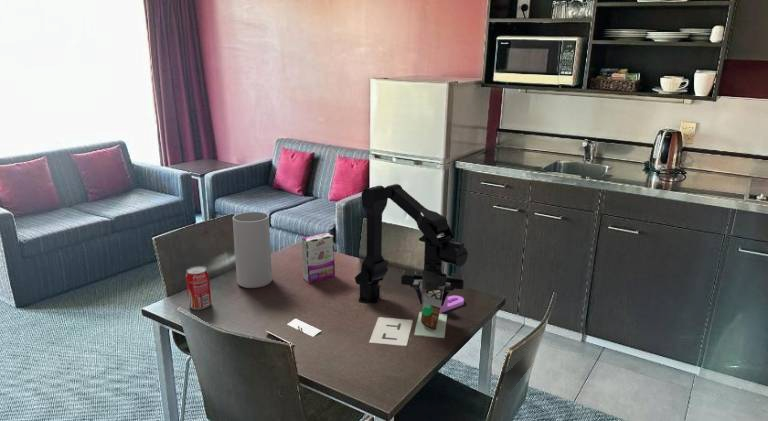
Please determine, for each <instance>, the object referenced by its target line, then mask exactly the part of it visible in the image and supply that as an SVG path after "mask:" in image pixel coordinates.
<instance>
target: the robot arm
mask: <svg viewBox="0 0 768 421" xmlns="http://www.w3.org/2000/svg"><path fill="white" fill-rule="evenodd" d="M360 197H361V204H362V207H363V210H364V211H365V213H366V255H365V257H364V259H363V261H362V262H361V268H360V272H359V273H358V274H357V275H356V276H355V277H354V280H355V284H357V285H359V298H358V302H362V303H371V304H372V303H375V304H376V303H378V301H379V300H380V299H381V296H382V291H381V290H382V285H380V281H384V278H385V276H386V275H387V272H388V271H389V270H388V263H389V261H388V260H387V259H385V257H384V256H383V255H382V248H383V247H382V246H383V245H382V240H383V237H382V236H383V232H382V231H383V213H384V211H385V209H386V208H387V206H388V205H387V204H388V200H389V199H390V201H392V202H393V203H394V204H395V205H396V206H398V207H399V208H400V209H401V210H402V211H403V212H405V213H406V214H407V215H408V216H410V218H412V219H413V220H414V221H415V222H416V225H417V228H418V229H419V231H420V232H421V233H422V236H421V237H420V238H418V241H420V242H422V243H424V253H423V270H422V274H418V273H417V270H415V269H404V270H403V271H402V274H401V277H400V278H401V279H400V284H401V285H404V286H409V287H410V288H412V289H414V290H415V292H416V294H417V298H418V300H419V301H418V302H419V303H420V305H423V298H422V295H423V290H424V291H425V290H428V289H429V290H435V291H436V290H439V287H443V288H444V290H443V296H442V304H441V306H443V304H444V302H445V299H446V297H447V295H449V293H450V292H453V291H454V290H463V289H464V285H465V275H464V274H463V273H457V272H456V273H455V272H454V273H453V272H451V273H450V276H447V273H444V272H443V270H444V268H443V267H444V263H446V264H450V265H452V266H456V267H459V268H461V267H464V265H465V264H466V262H467V259H468V256H469V254H468V250H467V248H466V247H465V244H464V242H461V241H460V242H459V241H454V240H455V239H456V238H455V236H454V233H453V232H452V229H451V227H450V225H449V224H448V220H447V218H446V217H445V216H443V215H442V214H440V213H438V212H437V211H434V210H430V209H428V208H426V207H425V206H424V205H422V204H421V203H420V202H419V201H418V200H416V198H414V197H413V196H412V195H411V194H410V193H409V192H407V191H406V190H405V189H403V187H402V185H401V184H398V183H394V184H390V185H387V186H383V185H376V186H372V187H368V188H365V189H363V191H362V192H361V196H360ZM439 236H440V237H439Z"/></svg>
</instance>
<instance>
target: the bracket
mask: <svg viewBox="0 0 768 421" xmlns="http://www.w3.org/2000/svg"><path fill="white" fill-rule="evenodd" d="M448 295H449V294H448ZM448 295H447V297H446V299H445V302H444V304H443V306H441V308H440V313H439V314H443V313H444V312H447V311H450V310H452V309H455V308H457V307H458V308H459V307H462V306H463V305H464V304H465V300H464V299H465V298H464V297H463V296H460V295H450V296H448ZM442 296H443V295H442ZM441 301H442V300H441ZM450 302H451V303H450Z"/></svg>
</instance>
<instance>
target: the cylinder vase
mask: <svg viewBox="0 0 768 421" xmlns="http://www.w3.org/2000/svg"><path fill="white" fill-rule="evenodd" d="M232 227H233V231H232V232H233V240H234V241H233V242H234V243H233V244H234V257H235V269H236V270H235V271H236V272H235V273H236V283H237V285H238V286H240V287H242V288H244V289H245V288H246V289H257V288H258V289H259V288H263V287H265V286H268V285H269V284H271V283H272V281H273V272H272V271H273V270H272V252H271V251H272V250H271V248H272V247H271V232H270V216H269V214H268V213H266V212H262V211H246V212H241V213H236V214H235V215H233V216H232Z"/></svg>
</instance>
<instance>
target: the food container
mask: <svg viewBox="0 0 768 421" xmlns="http://www.w3.org/2000/svg"><path fill="white" fill-rule="evenodd" d="M443 291H444V286H443V287H442V286H439V290H436V291H435V290H429V289H428V290H425V289H424V291H422V298H423V299H422V309H421V312H422V316H421V323H422V324H423V325H424V326H426V327H428V328H430V329H433V330H436V327H437V322H438V318H439V313H440V308H441V304H442V301H441V300H442V295H443ZM440 314H441V313H440Z"/></svg>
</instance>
